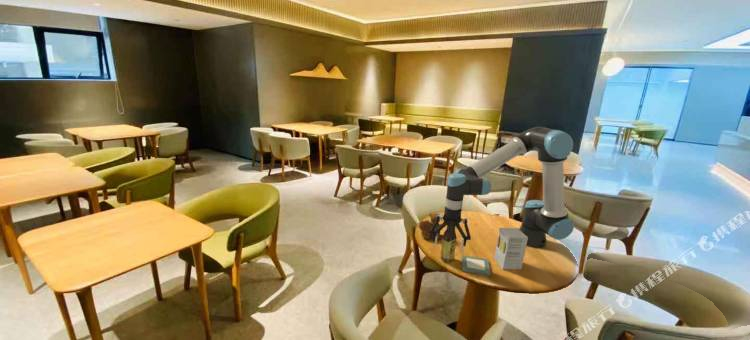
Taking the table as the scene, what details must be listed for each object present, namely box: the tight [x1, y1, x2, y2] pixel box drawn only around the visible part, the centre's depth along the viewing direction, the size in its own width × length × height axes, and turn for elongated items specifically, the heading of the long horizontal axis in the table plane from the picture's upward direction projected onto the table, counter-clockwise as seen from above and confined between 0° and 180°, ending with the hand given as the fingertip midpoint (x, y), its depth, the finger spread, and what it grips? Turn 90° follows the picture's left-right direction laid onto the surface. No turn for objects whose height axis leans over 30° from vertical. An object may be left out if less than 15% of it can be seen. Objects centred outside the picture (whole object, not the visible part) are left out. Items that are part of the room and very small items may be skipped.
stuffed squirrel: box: [418, 212, 444, 241], centre depth 167 cm, size 10×14×13 cm
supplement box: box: [494, 227, 528, 270], centre depth 144 cm, size 10×9×17 cm
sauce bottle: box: [440, 222, 458, 263], centre depth 145 cm, size 6×6×20 cm
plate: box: [461, 254, 491, 277], centre depth 143 cm, size 12×12×1 cm
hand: (448, 249), depth 146 cm, fingers open, 11 cm apart
